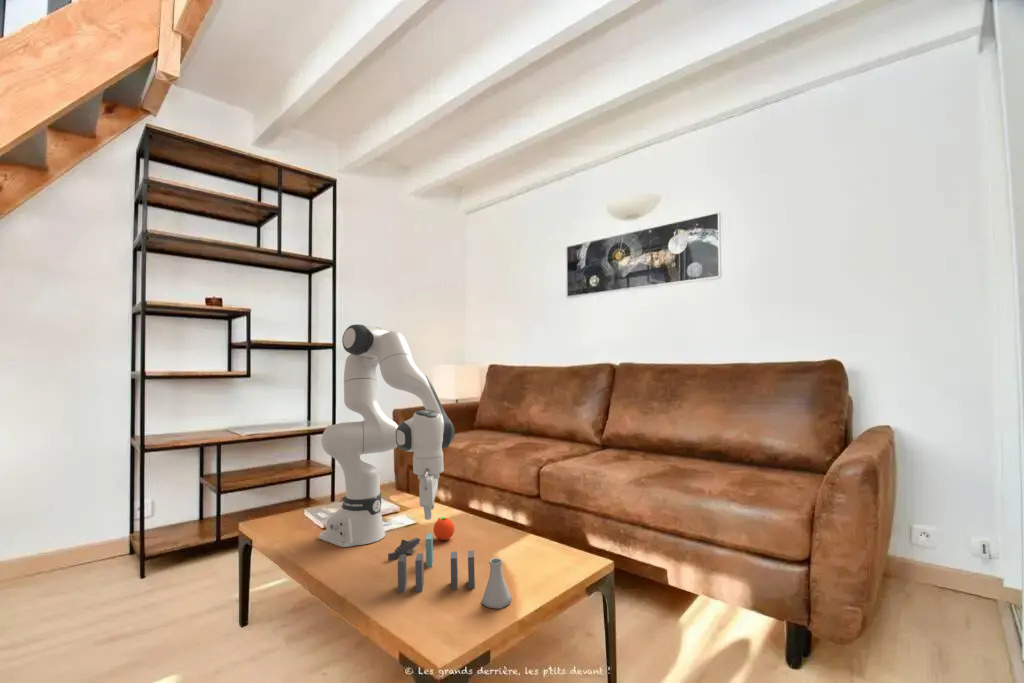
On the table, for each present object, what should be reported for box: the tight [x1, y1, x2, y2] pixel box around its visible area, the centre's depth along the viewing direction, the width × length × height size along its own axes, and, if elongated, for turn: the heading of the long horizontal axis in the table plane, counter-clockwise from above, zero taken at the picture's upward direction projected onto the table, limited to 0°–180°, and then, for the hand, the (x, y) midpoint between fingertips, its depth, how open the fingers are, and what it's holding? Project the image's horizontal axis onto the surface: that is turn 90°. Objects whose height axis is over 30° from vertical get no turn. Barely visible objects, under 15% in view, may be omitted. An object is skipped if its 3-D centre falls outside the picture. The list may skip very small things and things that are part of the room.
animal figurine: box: [387, 537, 421, 562], centre depth 148 cm, size 12×4×5 cm, turn 140°
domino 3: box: [425, 532, 434, 568], centre depth 141 cm, size 2×4×8 cm, turn 5°
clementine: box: [433, 516, 456, 541], centre depth 160 cm, size 8×7×7 cm
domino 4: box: [450, 551, 459, 591], centre depth 127 cm, size 2×4×8 cm, turn 5°
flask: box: [480, 557, 513, 609], centre depth 119 cm, size 7×7×10 cm
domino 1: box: [397, 554, 408, 594], centre depth 126 cm, size 2×4×8 cm, turn 5°
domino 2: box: [414, 552, 425, 593], centre depth 127 cm, size 2×4×8 cm, turn 5°
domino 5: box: [467, 549, 476, 590], centre depth 128 cm, size 2×4×8 cm, turn 5°
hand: (429, 513), depth 141 cm, fingers open, 8 cm apart
